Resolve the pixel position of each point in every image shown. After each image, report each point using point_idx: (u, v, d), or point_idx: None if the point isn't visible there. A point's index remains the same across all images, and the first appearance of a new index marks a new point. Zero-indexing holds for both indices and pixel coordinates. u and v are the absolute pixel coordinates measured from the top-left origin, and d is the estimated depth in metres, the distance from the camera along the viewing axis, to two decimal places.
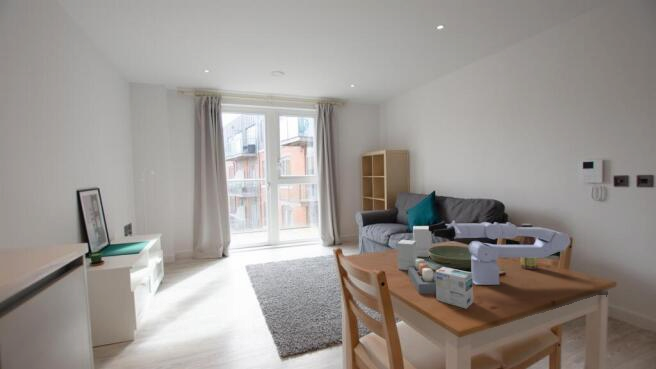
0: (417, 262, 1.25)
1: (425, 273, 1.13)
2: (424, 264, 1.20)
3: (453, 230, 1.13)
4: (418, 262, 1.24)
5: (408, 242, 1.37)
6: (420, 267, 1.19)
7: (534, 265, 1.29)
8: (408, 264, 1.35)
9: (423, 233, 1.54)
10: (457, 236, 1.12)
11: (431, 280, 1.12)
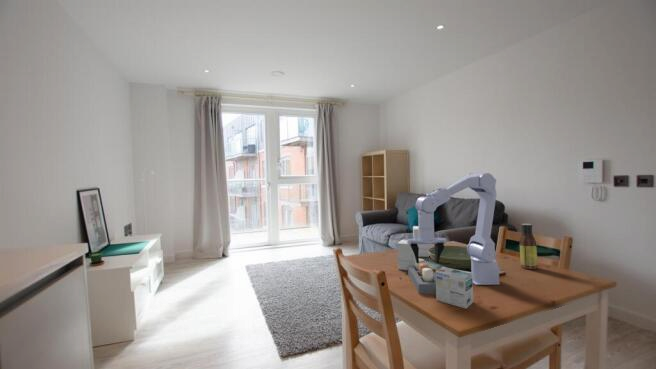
0: None
1: (425, 273, 1.13)
2: (424, 264, 1.20)
3: None
4: None
5: None
6: (420, 267, 1.19)
7: (534, 265, 1.29)
8: (408, 264, 1.35)
9: None
10: None
11: (431, 280, 1.12)
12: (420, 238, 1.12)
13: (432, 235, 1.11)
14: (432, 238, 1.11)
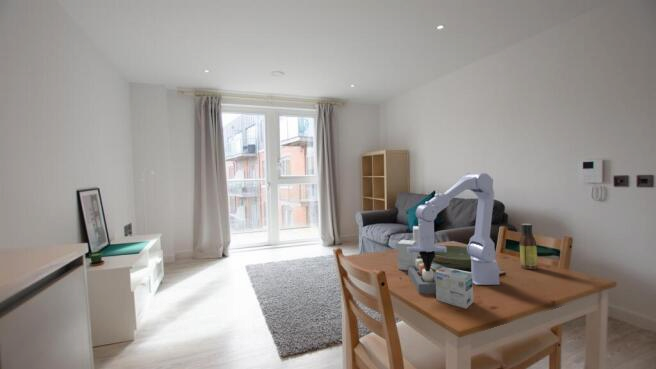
0: (417, 262, 1.25)
1: (425, 274, 1.13)
2: None
3: None
4: (418, 262, 1.24)
5: (408, 242, 1.37)
6: (420, 267, 1.19)
7: (534, 265, 1.29)
8: (408, 264, 1.35)
9: None
10: None
11: (431, 281, 1.12)
12: (420, 246, 1.12)
13: (432, 243, 1.11)
14: (432, 246, 1.11)
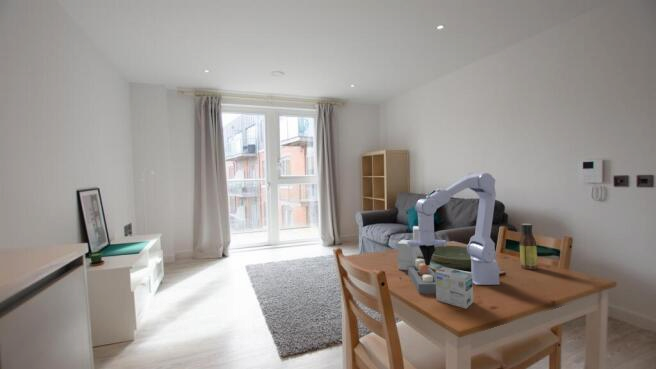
0: (417, 262, 1.25)
1: (425, 280, 1.13)
2: (424, 264, 1.20)
3: None
4: (418, 262, 1.24)
5: None
6: (420, 267, 1.19)
7: (534, 265, 1.29)
8: (408, 264, 1.35)
9: None
10: None
11: None
12: (420, 240, 1.12)
13: (432, 237, 1.11)
14: (432, 240, 1.11)
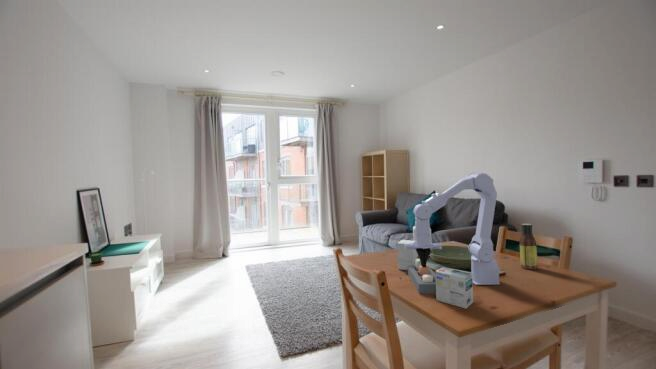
0: (417, 262, 1.25)
1: (425, 280, 1.13)
2: None
3: None
4: (418, 262, 1.24)
5: (408, 242, 1.37)
6: (420, 269, 1.19)
7: (534, 265, 1.29)
8: (408, 264, 1.35)
9: None
10: None
11: None
12: (417, 243, 1.18)
13: (428, 241, 1.17)
14: (428, 243, 1.17)
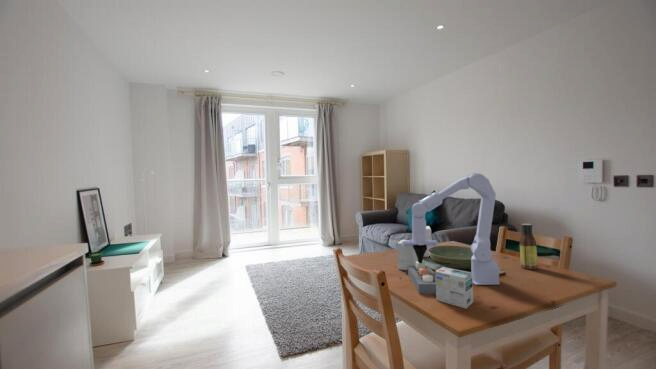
0: (417, 264, 1.25)
1: (425, 280, 1.13)
2: (424, 269, 1.20)
3: None
4: (418, 264, 1.24)
5: None
6: (420, 272, 1.19)
7: (534, 265, 1.29)
8: (408, 264, 1.35)
9: None
10: None
11: None
12: (413, 240, 1.24)
13: (424, 237, 1.23)
14: (424, 240, 1.23)
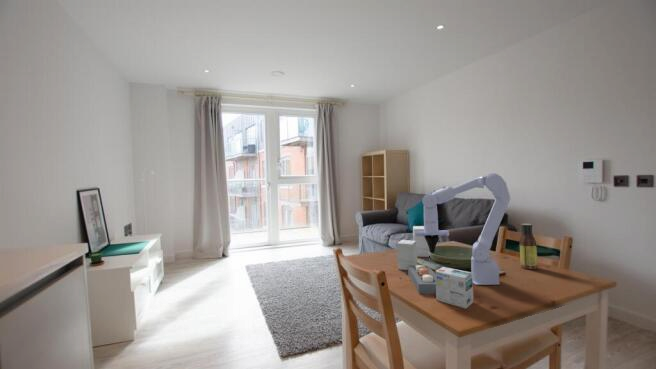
0: (417, 268, 1.25)
1: (425, 280, 1.13)
2: (424, 269, 1.20)
3: None
4: (418, 268, 1.25)
5: (408, 242, 1.37)
6: (420, 272, 1.19)
7: (534, 265, 1.29)
8: (408, 264, 1.35)
9: None
10: None
11: None
12: (425, 230, 1.26)
13: (436, 228, 1.24)
14: (436, 230, 1.24)
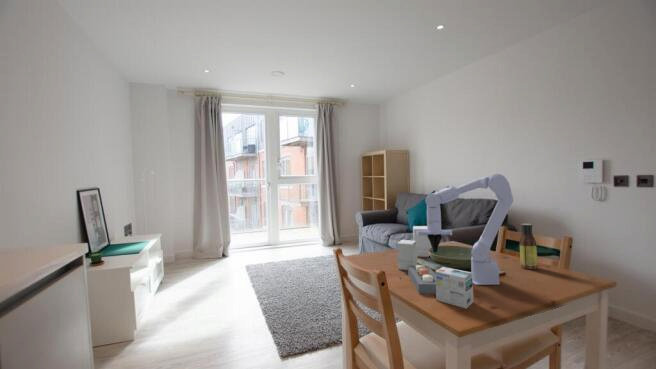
0: (417, 268, 1.25)
1: (425, 280, 1.13)
2: (424, 269, 1.20)
3: None
4: (418, 268, 1.25)
5: (408, 242, 1.37)
6: (420, 272, 1.19)
7: (534, 265, 1.29)
8: (408, 264, 1.35)
9: None
10: None
11: None
12: (428, 230, 1.26)
13: (439, 227, 1.25)
14: (439, 230, 1.25)
